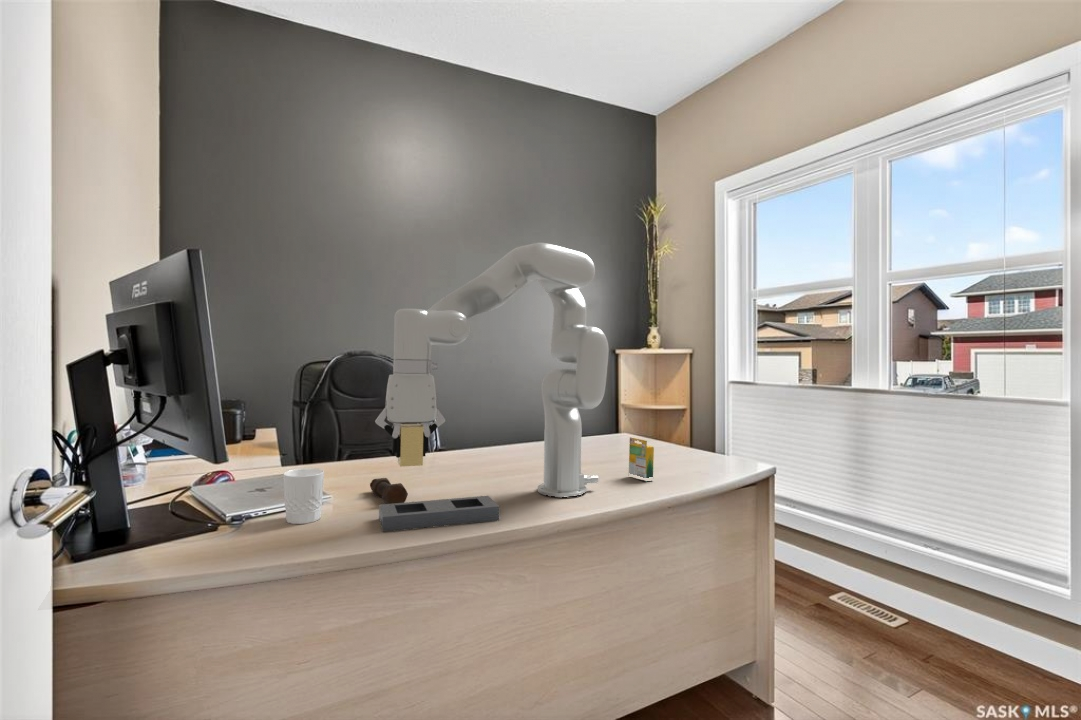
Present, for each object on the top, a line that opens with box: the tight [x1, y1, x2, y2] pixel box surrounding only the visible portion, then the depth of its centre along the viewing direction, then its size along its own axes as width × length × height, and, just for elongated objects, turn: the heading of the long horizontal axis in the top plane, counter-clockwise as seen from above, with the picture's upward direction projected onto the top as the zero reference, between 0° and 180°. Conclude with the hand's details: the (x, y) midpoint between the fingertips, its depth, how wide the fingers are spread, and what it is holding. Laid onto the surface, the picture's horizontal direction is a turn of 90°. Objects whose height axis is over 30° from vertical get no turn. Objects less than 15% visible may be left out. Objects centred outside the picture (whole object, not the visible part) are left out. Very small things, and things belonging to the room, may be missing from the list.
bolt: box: [369, 477, 409, 504], centre depth 133 cm, size 6×5×15 cm
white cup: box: [282, 467, 325, 525], centre depth 116 cm, size 8×8×10 cm
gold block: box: [397, 423, 424, 467], centre depth 115 cm, size 4×4×8 cm
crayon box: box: [628, 437, 655, 478], centre depth 157 cm, size 7×3×12 cm, turn 32°
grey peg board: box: [378, 495, 500, 533], centre depth 117 cm, size 24×9×3 cm, turn 111°
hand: (410, 454), depth 115 cm, fingers closed on gold block, 4 cm apart
